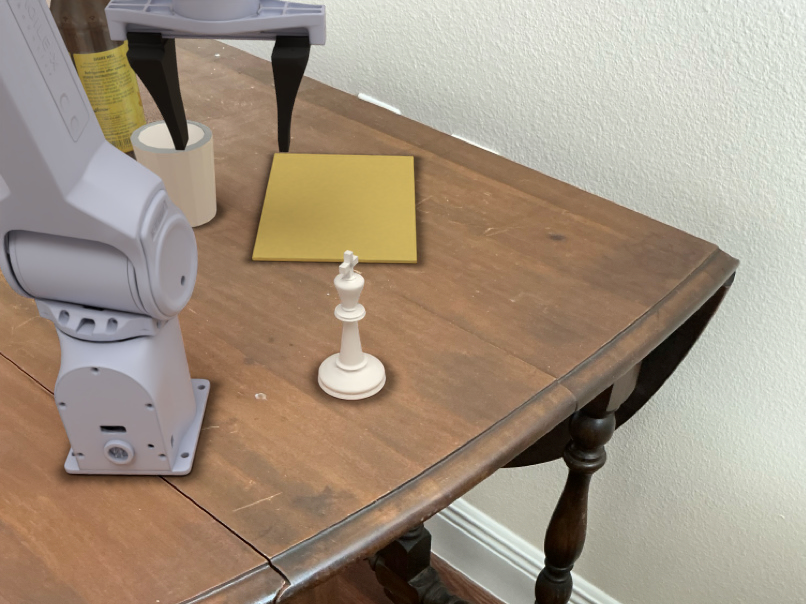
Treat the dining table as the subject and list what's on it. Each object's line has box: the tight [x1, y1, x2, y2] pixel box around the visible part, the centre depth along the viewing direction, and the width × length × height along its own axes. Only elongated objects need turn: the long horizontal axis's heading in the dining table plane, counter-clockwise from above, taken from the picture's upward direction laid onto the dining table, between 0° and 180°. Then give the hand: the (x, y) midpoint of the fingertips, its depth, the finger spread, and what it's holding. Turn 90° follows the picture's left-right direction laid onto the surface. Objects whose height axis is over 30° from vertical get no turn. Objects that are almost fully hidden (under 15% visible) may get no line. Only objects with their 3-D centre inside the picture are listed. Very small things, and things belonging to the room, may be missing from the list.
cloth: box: [251, 152, 418, 264], centre depth 78 cm, size 20×14×1 cm
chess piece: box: [317, 250, 387, 401], centre depth 57 cm, size 5×5×10 cm
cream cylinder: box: [130, 119, 218, 228], centre depth 74 cm, size 7×7×7 cm
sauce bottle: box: [49, 0, 148, 161], centre depth 76 cm, size 6×6×20 cm
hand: (233, 145), depth 63 cm, fingers open, 7 cm apart
